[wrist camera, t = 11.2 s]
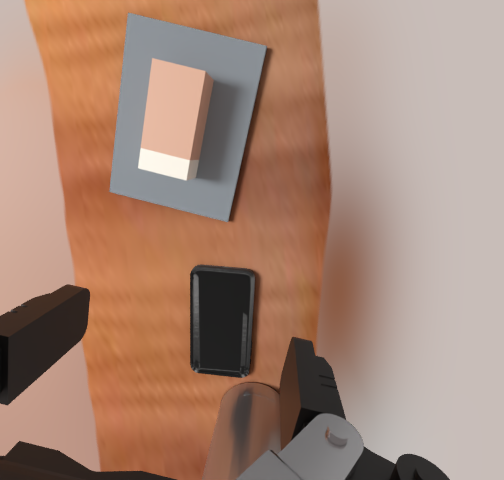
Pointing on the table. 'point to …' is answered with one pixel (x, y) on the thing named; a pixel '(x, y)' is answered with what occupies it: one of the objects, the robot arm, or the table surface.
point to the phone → (221, 320)
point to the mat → (217, 124)
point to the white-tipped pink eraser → (174, 119)
